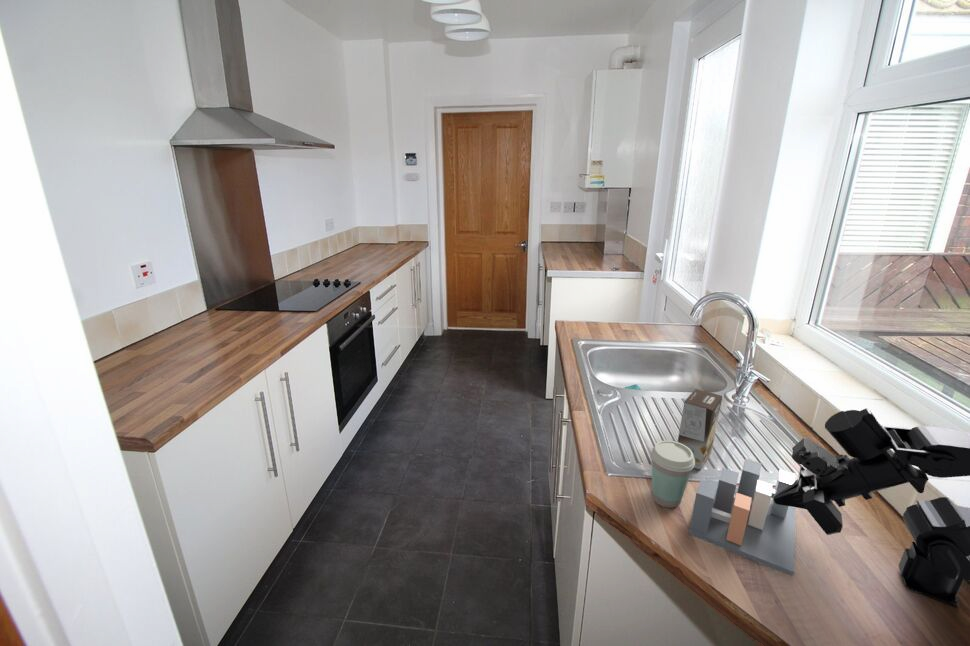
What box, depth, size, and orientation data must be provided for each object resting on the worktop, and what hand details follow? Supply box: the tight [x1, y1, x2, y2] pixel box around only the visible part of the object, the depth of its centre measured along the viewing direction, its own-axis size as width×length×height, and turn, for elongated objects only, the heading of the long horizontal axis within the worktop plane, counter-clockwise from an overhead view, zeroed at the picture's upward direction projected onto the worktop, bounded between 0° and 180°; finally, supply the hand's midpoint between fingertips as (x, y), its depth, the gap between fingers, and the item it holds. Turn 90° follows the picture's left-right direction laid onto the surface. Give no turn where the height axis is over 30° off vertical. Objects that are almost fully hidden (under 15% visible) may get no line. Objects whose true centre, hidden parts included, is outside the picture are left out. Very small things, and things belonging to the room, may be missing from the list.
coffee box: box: [677, 388, 723, 470], centre depth 107 cm, size 9×6×16 cm
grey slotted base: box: [688, 458, 797, 577], centre depth 88 cm, size 17×18×9 cm
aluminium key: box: [771, 469, 796, 518], centre depth 91 cm, size 7×4×8 cm, turn 56°
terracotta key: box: [711, 493, 752, 545], centre depth 84 cm, size 7×4×8 cm, turn 56°
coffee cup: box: [650, 440, 695, 508], centre depth 94 cm, size 8×8×12 cm
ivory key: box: [733, 479, 773, 530], centre depth 88 cm, size 7×4×8 cm, turn 56°
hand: (774, 500), depth 85 cm, fingers closed
